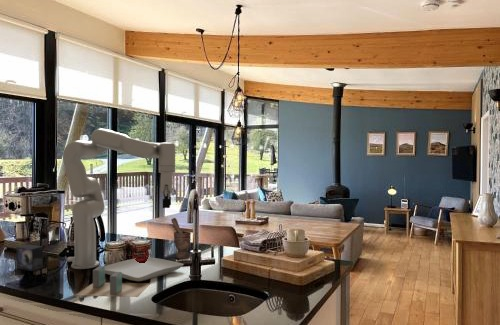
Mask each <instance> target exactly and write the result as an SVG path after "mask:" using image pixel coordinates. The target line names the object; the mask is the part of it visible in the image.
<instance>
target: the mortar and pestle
mask: <svg viewBox="0 0 500 325" xmlns="http://www.w3.org/2000/svg"><path fill="white" fill-rule="evenodd" d="M170 221H171V223H172V226H173V227H174V229H175V231H174V232H173V237H174V238H173V240H174V241H173V242H174V247H175V248H176V249H177V253H176V254H175V258H176V259H181V260H182V259H183V260H186V259H188V258H190V254H189V252H188V249H189V248H190V246H191V241H192V240H191V234H192V233H191V231H188V230H181V227H180V225H179V222H178V220H177V218H176V217H173V218H171V220H170Z"/></svg>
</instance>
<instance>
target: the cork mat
mask: <svg viewBox="0 0 500 325" xmlns="http://www.w3.org/2000/svg"><path fill="white" fill-rule="evenodd" d="M151 284H152V283H151V282H150V283H149V282H145V283H144V282H143V283H141V282H122V290H121V291H120V292H118V293H117V294H116V295H110V282H105V283H104V284H103V285H102V286H100V287H99V288H93V282H92V283H91V284H89V285H87V286H86V287H85V288H83V289H82V290H80V291H79V292H77V293H76V294H75V295H74V296H76V297H77V296H79V297H80V296H82V297H88V296H89V297H121V298H122V297H124V298H126V297H127V298H129V297H130V298H131V297H132V298H138V297H139V296H140V295H142V294H143V292H145V290H147V288H148V287H149V286H150V285H151Z"/></svg>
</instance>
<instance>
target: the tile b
mask: <svg viewBox="0 0 500 325" xmlns="http://www.w3.org/2000/svg"><path fill="white" fill-rule="evenodd" d="M109 283H110V295H116V294H117V293H118V292H120V291H121V290H122V283H123V278H122V272H115V273H114V274H112V275H109Z"/></svg>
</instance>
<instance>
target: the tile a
mask: <svg viewBox="0 0 500 325" xmlns="http://www.w3.org/2000/svg"><path fill="white" fill-rule="evenodd" d="M104 266H105V265H98V266H97V267H95V268H94V269H92V283H93V288H99V287H100V286H102V285H103V284H104V283H106V274H105V267H104Z"/></svg>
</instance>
